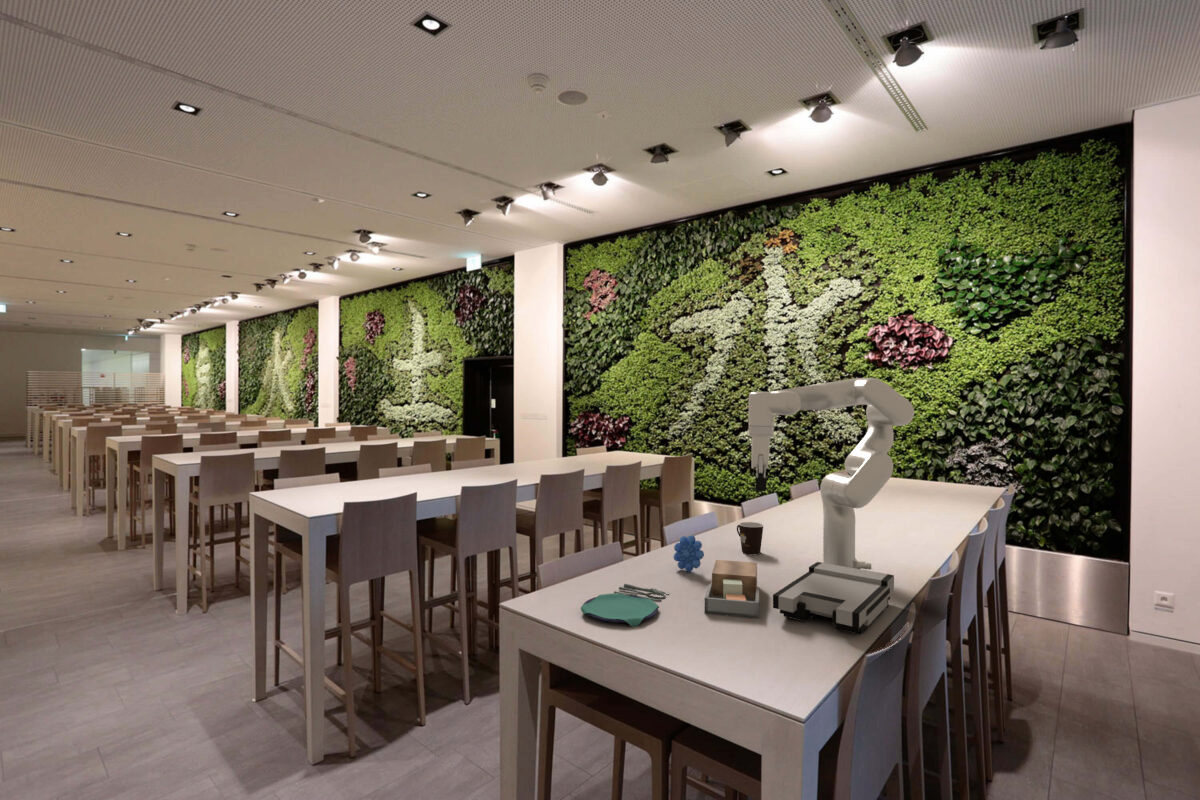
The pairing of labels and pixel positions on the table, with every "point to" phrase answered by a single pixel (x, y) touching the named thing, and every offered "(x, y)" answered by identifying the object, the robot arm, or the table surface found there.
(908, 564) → the table surface
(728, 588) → the sage block
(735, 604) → the bin
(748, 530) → the coffee mug
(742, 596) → the terracotta block
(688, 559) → the grapes
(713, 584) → the brown box
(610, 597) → the cutlery set
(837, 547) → the robot arm
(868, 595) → the game console
